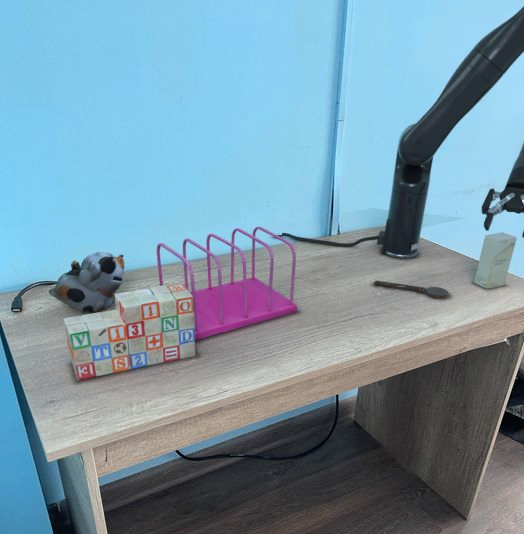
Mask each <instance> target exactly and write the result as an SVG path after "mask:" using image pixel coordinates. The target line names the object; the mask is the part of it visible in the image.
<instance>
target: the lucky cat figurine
mask: <svg viewBox="0 0 524 534" xmlns="http://www.w3.org/2000/svg"><path fill="white" fill-rule="evenodd" d="M70 267H71V269H70V270H69V271H68V272H64V273H62V274H61V275H60V276H59V277H58V279H57V281H56V285H55V287H53V288H50V289H49V290H48V293H49V295H50V296H51V297H54V298H55V299H56V300H58V301H60V302H62V303H64V304H66V305H67V306H68V307H70V308H72V309H75V310H77V311H80V312H84V313H85V312H87V311H89V313H90V314H92V313H98V312H102V311H103V310H104V309H107V308H109V307H110V306H112V304H113V301H114V295H115V292H116V291H117V290H118V289H119V288H120V287H121V285H122V284H123V276H124V273H125V272H124V269H125V260H124V254H119V255H118V256H115V255H114V254H112V253H110V252H105V251H96V252H94V253H92V254H88V255H87V256H86V257H85V258H83V260H82V261H81V264H80V262H79V261H77V260H73V261H72V262H71V263H70Z"/></svg>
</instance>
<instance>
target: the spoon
mask: <svg viewBox="0 0 524 534" xmlns="http://www.w3.org/2000/svg"><path fill="white" fill-rule="evenodd" d="M373 285H374V286H377V287H383V288H390V289H396V290H403V291H410V292H416V293H418V294H424V295H426V296H428V297H430V298H432V299H437V300H438V299H439V300H442V299H446V298H447V297H448V295H449V292H448V290H447V289H445V288H443V287H440V286H429V287H427V288H426V287H424V286H417V285H411V284H403V283H397V282H396V283H395V282H389V281H383V280H374V281H373Z"/></svg>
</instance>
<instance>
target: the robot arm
mask: <svg viewBox="0 0 524 534" xmlns="http://www.w3.org/2000/svg"><path fill="white" fill-rule="evenodd" d="M522 54H524V5H523V6H522V7H521V8H520V9H519V10H518V11H517V12H516V13H514V14H513V16H511V17H510V18H508V19H507V20H505V21H504V22H503V23H502V24H499V25H498V26H497V27H496V28H494V29H493V30H491V31H490V32H488V33H487V34H486V35H484V36H483V37H482V38H481V39H480V40H479V41H478V42H477V43H476V44H475V46H473V48H472V49H471V50H470V51H469V53H468V54H467V55H466V56H465V57H464V59H463V60H462V61H461V63H460V64H459V65H458V66H457V68H456V69H455V71H454V72H453V74H452V75H451V76H450V78H449V80H448V81H447V83H446V85H445V86H444V88H443V90H442V91H441V92H440V94H439V95H438V97H437V99H436V100H435V102H434V103H433V104H432V105H431V106H430V108H429V109H428V110H427V111H426V112H425V113H424V114H423V115H422V116H421V117H420V118H419V120H417V121H416V122H415V123H412V124H410V125H408V126H407V127H405V128H404V130H402V132H401V134H400V136H399V139H398V143H397V150H396V156H395V163H394V170H393V177H392V184H391V193H390V199H389V207H388V213H387V218H386V222H385V227H384V228H385V229H384V230H380V231H379V232H378V235H375V236H367V237H363V238H359V239H357V240H356V241H354V242H349V243H347V242H346V243H343V242H336V241H330V240H323V239H315V238H310V237H309V238H308V237H301V236H297V235H294V234H291V233H288V232H281V233H282V235H278V234H277V235H278V236H280V237H287V238H289V239H292V240H295V241H300V242H308V243H314V244H321V245H329V246H335V247H342V248H343V247H344V248H351V247H356V246H357V245H359V244H361V243H363V242H368V241H376V245H379V246H382V250H381V255H386V256H389V257H393V258H397V259H411V258H415V257H416V256H417V255H418V249H419V246H420V237H421V232H422V227H423V221H424V215H425V210H426V203H427V200H428V199H427V198H428V192H429V189H430V182H431V173H432V166H433V161H434V156H435V154H436V153H437V152H438V150H439V149H440V148H441V146H442V145H443V143H444V142H445V141H446V140H447V138H448V136H449V135H450V134H451V133H452V131H453V130H454V129H455V128H456V126H457V125H458V124H459V123H460V121H462V120H463V119H464V117H466V115H468V114H469V113H470V112H471V111H472V110H473V109H474V108H475V107H476V106H477V105H478V104H479V103H480V102H481V101H482V100H483V98H484V97H486V95H487V94H488V93H489V92H490V91H492V89H493V88H494V86H496V85H497V83H498V82H499V81H500V80H501V79H502V78H503V76H504V75H505V74H506V73H507V72H508V70H509V69H510V68H511V67H512V65H514V63H516V61H517V60H518V59H519V58H520V57H521V56H522ZM497 199H499V201H498V202H496V204H494V205H493V206H491V205H492V203H493V202H494V201H496V200H497ZM505 211H506V212H507V213H515V214H519V215H520V214H524V141H523V142H522V145H521V147H520V150H519V153H518V156H517V158H516V160H515V162H514V163H513V166H512V168H511V171H510V174H509V176H508V179H507V181H506V184H505V186H504V189H503V190H502V191H501V192H500V191H497V190H495V189H494V188H490V189H489V190H488V191H487V195H486V197H485V199H484V201H483V203H482V205H481V214H482V215H485V218H484V221H483V228H484V231H487V232H489V231H490V228H491V225H492V223H493V220H494V217H495V216H497V215H499V214H502V213H504V212H505ZM521 236H522V237H521V238H524V230H523V231H522V234H521Z"/></svg>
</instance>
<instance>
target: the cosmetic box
mask: <svg viewBox="0 0 524 534" xmlns="http://www.w3.org/2000/svg"><path fill="white" fill-rule="evenodd" d="M517 239H518V237H517V236H515V235H511V234H509V233H506V232H498V233H497V232H496V233H491V234H485V236H484V240H483V244H482V248H481V251H480V255H479V259H478V264H477V268H476V272H475V276H474V280H473V283H474V284H476V285H478V286H480V287H482V288H484V289H488V290H489V289H493V288H497V287H501V286H505V283H506V279H507V276H508V272H509V268H510V264H511V261H512V257H513V255H514V250H515V246H516V242H517Z"/></svg>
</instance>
